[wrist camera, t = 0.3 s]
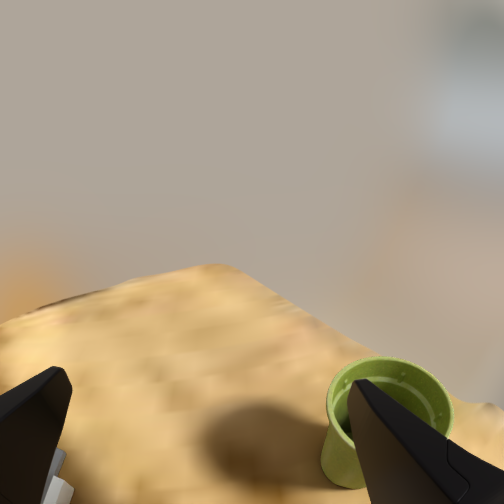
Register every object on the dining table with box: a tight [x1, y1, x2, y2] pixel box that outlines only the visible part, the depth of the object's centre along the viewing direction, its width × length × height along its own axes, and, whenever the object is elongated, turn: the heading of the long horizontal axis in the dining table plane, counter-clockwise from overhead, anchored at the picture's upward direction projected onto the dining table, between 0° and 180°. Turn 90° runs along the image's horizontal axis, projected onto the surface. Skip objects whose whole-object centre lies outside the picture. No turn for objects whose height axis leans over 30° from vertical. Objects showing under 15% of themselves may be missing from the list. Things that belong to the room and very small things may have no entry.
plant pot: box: [321, 356, 454, 489], centre depth 17 cm, size 9×9×9 cm
